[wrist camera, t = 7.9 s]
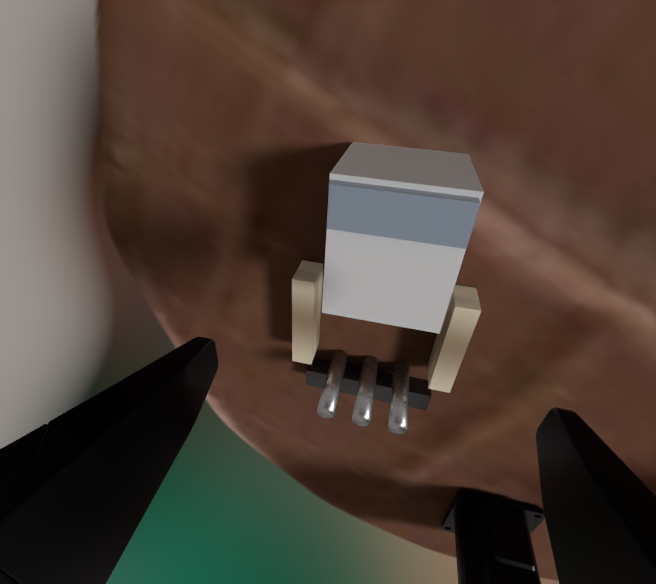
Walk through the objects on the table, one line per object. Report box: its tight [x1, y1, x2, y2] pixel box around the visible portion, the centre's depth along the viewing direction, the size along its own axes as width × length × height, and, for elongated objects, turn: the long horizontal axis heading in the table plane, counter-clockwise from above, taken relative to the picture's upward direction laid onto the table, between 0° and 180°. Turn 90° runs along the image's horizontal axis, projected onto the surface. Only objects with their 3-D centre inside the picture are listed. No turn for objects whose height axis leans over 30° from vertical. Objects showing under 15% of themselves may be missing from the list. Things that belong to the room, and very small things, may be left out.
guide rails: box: [292, 260, 481, 393], centre depth 20 cm, size 6×9×2 cm, turn 87°
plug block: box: [322, 142, 484, 334], centre depth 15 cm, size 6×5×6 cm
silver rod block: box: [306, 350, 431, 434], centre depth 22 cm, size 3×8×4 cm, turn 87°
